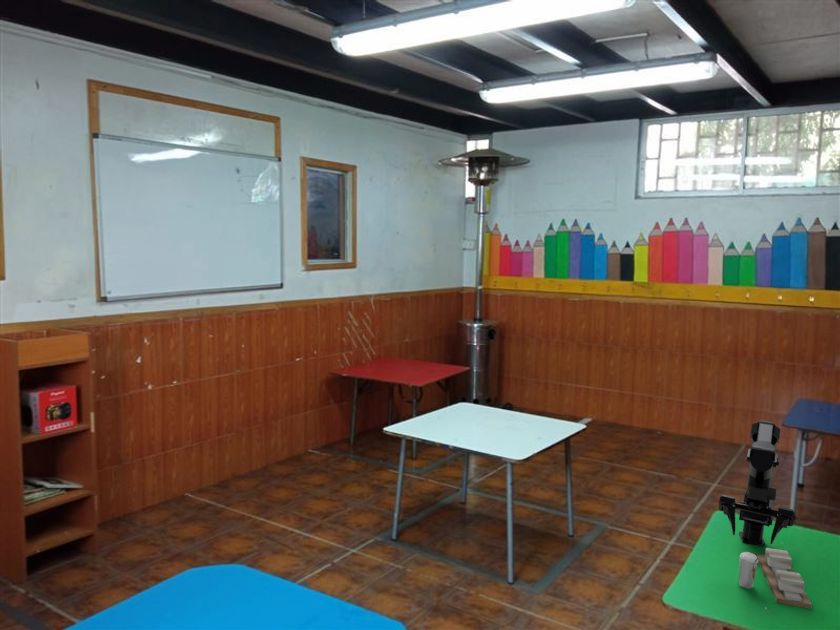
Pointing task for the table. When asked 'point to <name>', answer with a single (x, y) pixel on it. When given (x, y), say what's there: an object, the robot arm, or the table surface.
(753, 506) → the robot arm
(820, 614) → the table surface
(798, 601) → the wooden board with pads
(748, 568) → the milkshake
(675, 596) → the table surface
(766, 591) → the table surface
